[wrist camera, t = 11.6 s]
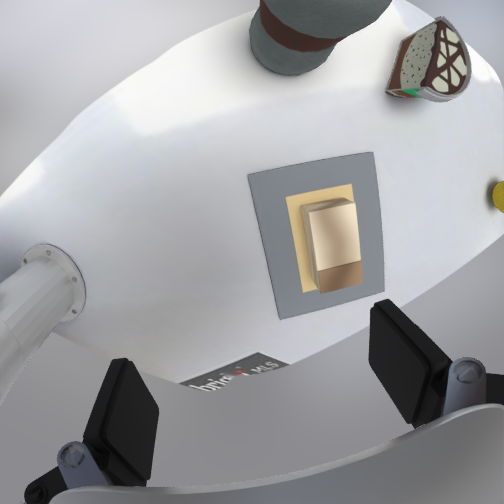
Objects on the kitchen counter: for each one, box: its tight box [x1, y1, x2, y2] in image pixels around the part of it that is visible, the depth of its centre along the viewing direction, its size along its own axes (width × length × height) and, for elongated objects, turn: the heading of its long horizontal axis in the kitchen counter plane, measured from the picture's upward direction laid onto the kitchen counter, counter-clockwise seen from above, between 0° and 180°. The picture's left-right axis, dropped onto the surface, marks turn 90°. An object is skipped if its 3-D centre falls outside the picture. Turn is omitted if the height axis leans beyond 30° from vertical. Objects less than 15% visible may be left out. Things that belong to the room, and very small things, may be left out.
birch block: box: [300, 197, 363, 294], centre depth 34 cm, size 6×10×4 cm, turn 12°
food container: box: [385, 16, 472, 102], centre depth 25 cm, size 12×6×10 cm, turn 159°
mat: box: [248, 152, 385, 320], centre depth 37 cm, size 16×20×1 cm
